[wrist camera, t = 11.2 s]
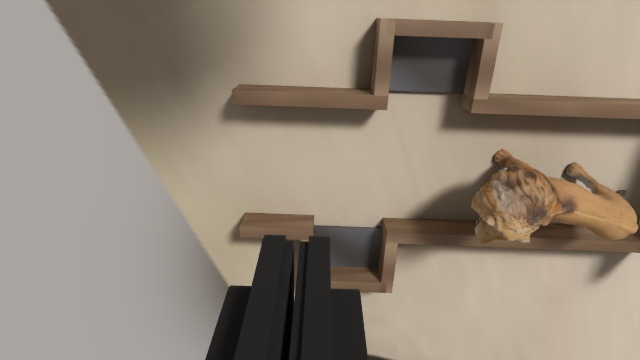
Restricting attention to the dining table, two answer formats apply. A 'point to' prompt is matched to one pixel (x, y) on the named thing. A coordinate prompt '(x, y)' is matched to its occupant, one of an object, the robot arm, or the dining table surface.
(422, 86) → the wooden walled channel
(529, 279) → the dining table surface
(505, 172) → the lion figurine
